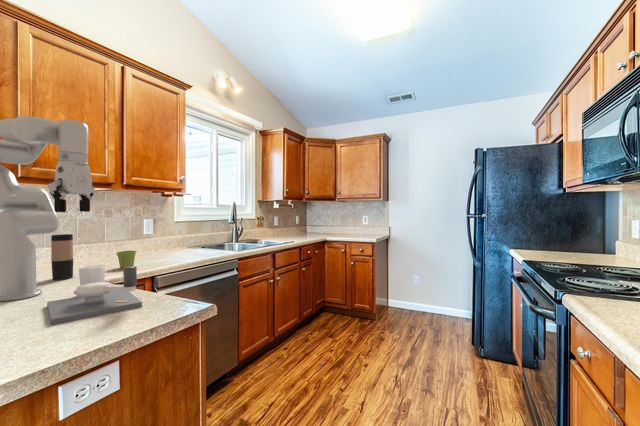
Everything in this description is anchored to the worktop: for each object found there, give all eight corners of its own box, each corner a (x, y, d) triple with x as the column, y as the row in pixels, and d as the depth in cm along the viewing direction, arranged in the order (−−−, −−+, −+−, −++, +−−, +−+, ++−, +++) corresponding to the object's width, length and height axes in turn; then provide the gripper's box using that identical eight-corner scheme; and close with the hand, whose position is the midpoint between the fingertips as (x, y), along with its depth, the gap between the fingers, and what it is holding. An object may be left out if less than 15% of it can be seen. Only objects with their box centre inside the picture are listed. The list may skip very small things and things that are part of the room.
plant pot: (127, 269, 158) (127, 253, 158) (111, 269, 160) (111, 252, 160) (140, 266, 167) (140, 250, 167) (125, 265, 169) (125, 250, 169)
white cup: (74, 297, 109) (74, 269, 109) (85, 291, 116) (85, 265, 116) (100, 295, 111) (99, 268, 111) (108, 289, 119) (108, 264, 118)
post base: (47, 306, 98) (47, 294, 98) (126, 293, 114) (125, 282, 113) (51, 324, 82) (50, 310, 82) (141, 306, 98) (141, 294, 98)
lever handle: (64, 297, 94) (63, 269, 94) (91, 288, 104) (90, 263, 104) (126, 297, 93) (125, 270, 93) (147, 288, 103) (146, 263, 103)
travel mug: (48, 279, 137) (47, 235, 136) (68, 276, 143) (68, 234, 143) (56, 281, 133) (55, 235, 133) (76, 277, 140) (76, 234, 140)
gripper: (62, 155, 90) (61, 212, 90) (103, 163, 107) (103, 211, 108) (37, 154, 90) (36, 212, 90) (82, 162, 107) (82, 211, 108)
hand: (73, 211), depth 99 cm, fingers open, 9 cm apart
